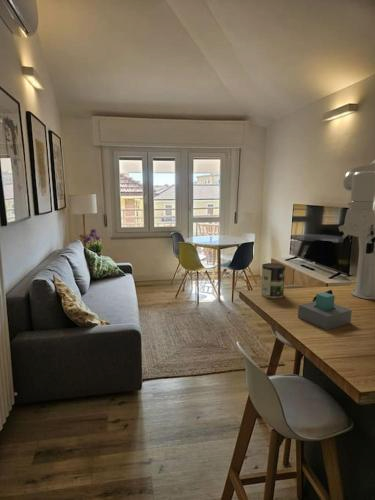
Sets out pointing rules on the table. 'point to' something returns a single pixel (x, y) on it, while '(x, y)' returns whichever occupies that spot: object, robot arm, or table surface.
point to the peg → (325, 301)
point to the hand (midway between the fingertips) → (357, 250)
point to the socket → (324, 315)
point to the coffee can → (273, 280)
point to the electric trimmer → (326, 292)
